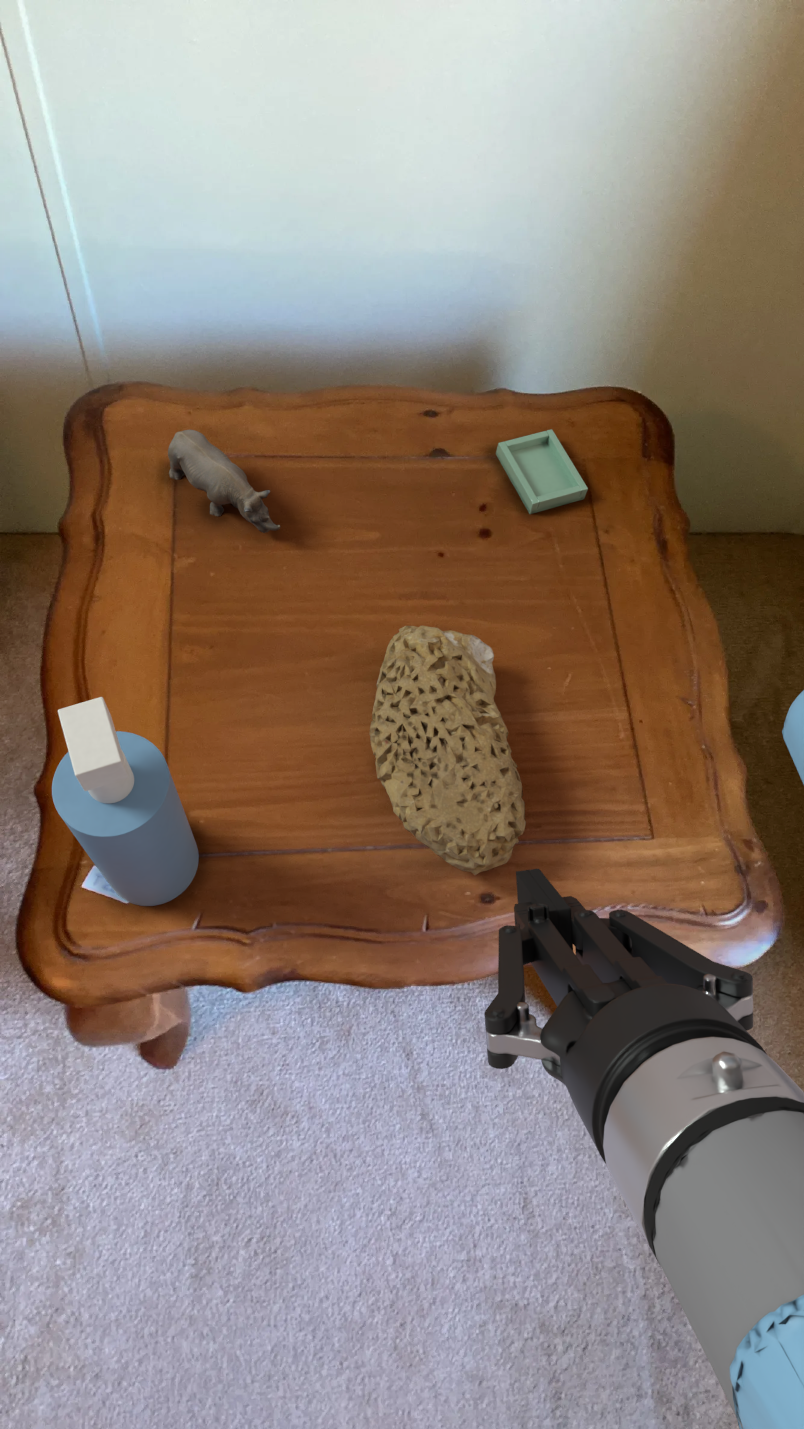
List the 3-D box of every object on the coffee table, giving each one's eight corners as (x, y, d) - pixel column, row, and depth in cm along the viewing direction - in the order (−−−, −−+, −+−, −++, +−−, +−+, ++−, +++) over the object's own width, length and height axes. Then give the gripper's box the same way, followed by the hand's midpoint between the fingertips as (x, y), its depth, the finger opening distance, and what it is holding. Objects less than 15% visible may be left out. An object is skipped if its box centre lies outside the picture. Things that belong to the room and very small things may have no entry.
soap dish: (583, 500, 90) (588, 488, 89) (529, 516, 89) (533, 503, 87) (548, 441, 93) (552, 428, 92) (494, 455, 92) (498, 442, 90)
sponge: (371, 662, 81) (342, 858, 69) (396, 602, 75) (369, 805, 63) (510, 699, 84) (506, 896, 71) (544, 644, 78) (547, 848, 65)
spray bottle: (210, 887, 70) (170, 781, 51) (118, 920, 68) (42, 823, 49) (184, 807, 73) (137, 677, 54) (95, 836, 71) (15, 713, 52)
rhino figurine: (262, 562, 84) (259, 520, 78) (161, 477, 87) (150, 431, 82) (294, 537, 85) (293, 494, 80) (193, 454, 89) (185, 408, 83)
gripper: (854, 1002, 35) (625, 820, 58) (519, 1054, 33) (421, 846, 56) (853, 1178, 36) (630, 932, 59) (531, 1234, 35) (431, 959, 58)
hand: (528, 890), depth 58 cm, fingers closed
